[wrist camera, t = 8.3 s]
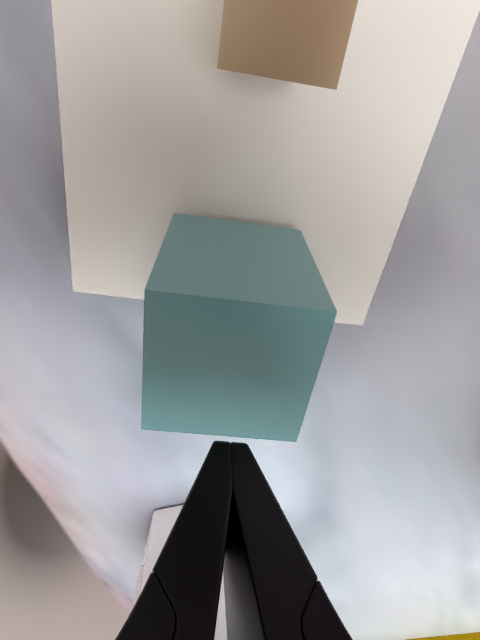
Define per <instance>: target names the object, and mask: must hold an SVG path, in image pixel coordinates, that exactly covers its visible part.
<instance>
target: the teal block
mask: <svg viewBox="0 0 480 640" xmlns="http://www.w3.org/2000/svg"><path fill="white" fill-rule="evenodd" d="M336 314H337V310H336V308H335V306H334V304H333V301H332V299H331V297H330V295H329V292H328V290H327V288H326V286H325V284H324V281H323V279H322V277H321V275H320V272H319V270H318V268H317V266H316V263H315V261H314V259H313V257H312V255H311V252H310V250H309V248H308V246H307V243H306V241H305V239H304V237H303V234H302V232H301V230H297V229H290V228H282V227H275V226H267V225H260V224H252V223H245V222H237V221H230V220H223V219H215V218H208V217H200V216H193V215H185V214H178V213H174V214H173V216H172V219H171V222H170V224H169V227H168V229H167V232H166V235H165V237H164V240H163V242H162V245H161V248H160V250H159V253H158V256H157V258H156V261H155V263H154V266H153V269H152V271H151V274H150V276H149V279H148V282H147V284H146V287H145V290H144V333H143V378H142V423H141V429H144V430H157V431H169V432H181V433H193V434H205V435H218V436H230V437H242V438H254V439H267V440H279V441H291V442H296V440H297V437H298V434H299V431H300V428H301V425H302V421H303V418H304V415H305V412H306V409H307V406H308V402H309V399H310V396H311V393H312V390H313V387H314V384H315V380H316V377H317V374H318V371H319V368H320V365H321V361H322V358H323V355H324V352H325V349H326V346H327V342H328V339H329V336H330V333H331V330H332V327H333V323H334V320H335V317H336Z"/></svg>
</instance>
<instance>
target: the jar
mask: <svg viewBox="0 0 480 640" xmlns="http://www.w3.org/2000/svg"><path fill="white" fill-rule="evenodd" d="M182 507H183V505H179V506H174V507H169V508H164V509H159V510H155V511H154V512H153V515H152V520H151V524H150V528H149V532H148V537H147V541H146V545H145V551H144V556H143V562H142V566H141V567H140V571H139V576H138V582H137V587H136V593H135V598H134V603H133V607H134V605H135V603H136V601H137V600H138V598H139V596H140V594H141V592H142V590H143V588H144V586H145V584H146V581H147V579H148V577H149V575H150V573H151V572H152V570H153V567H154V565H155V563H156V561H157V559H158V557H159V555H160V553H161V551H162V549H163V546H164V544H165V542H166V540H167V538H168V536H169V534H170V532H171V530H172V528H173V526H174V523H175V521H176V519H177V517H178V515H179V513H180V511H181V509H182ZM132 609H133V608H132ZM214 640H227V627H226V611H225V595H224V578H223V575H222V583H221V590H220V598H219V606H218V614H217V621H216V629H215V637H214Z"/></svg>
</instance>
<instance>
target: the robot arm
mask: <svg viewBox="0 0 480 640" xmlns="http://www.w3.org/2000/svg"><path fill="white" fill-rule="evenodd" d="M222 575H223V578H224V595H225V611H226V627H227V640H352V638H351V636H350V635H349V633H348V631H347V630H346V628H345V627H344V625H343V623H342V621H341V620H340V618H339V616H338V614H337V612H336V611H335V609H334V607H333V605H332V603H331V602H330V600H329V598H328V596H327V594H326V592H325V590H324V588H323V587H322V585H321V583H320V581H317V575H316V574H315V572H314V570H313V568H312V566H311V564H310V562H309V560H308V558H307V556H306V554H305V553H304V551H303V549H302V547H301V545H300V543H299V541H298V539H297V537H296V535H295V534H294V532H293V530H292V528H291V526H290V524H289V522H288V520H287V518H286V516H285V515H284V513H283V511H282V509H281V507H280V505H279V503H278V501H277V499H276V497H275V496H274V494H273V492H272V490H271V488H270V486H269V484H268V482H267V480H266V478H265V476H264V475H263V473H262V471H261V469H260V467H259V465H258V463H257V461H256V459H255V457H254V456H253V454H252V452H251V450H250V448H249V446H248V445H247V444H246V443H237V442H232V443H230V442H225V441H214V442H213V444H212V446H211V448H210V450H209V452H208V455H207V457H206V459H205V461H204V463H203V465H202V467H201V469H200V471H199V473H198V475H197V478H196V480H195V482H194V484H193V486H192V488H191V490H190V492H189V494H188V496H187V498H186V501H185V503H184V505H183V507H182V509H181V511H180V513H179V515H178V517H177V519H176V521H175V523H174V526H173V528H172V530H171V532H170V534H169V536H168V538H167V540H166V542H165V544H164V546H163V549H162V551H161V553H160V555H159V557H158V559H157V561H156V563H155V565H154V567H153V570H152V572H151V573H150V575H149V577H148V579H147V581H146V584H145V586H144V588H143V590H142V592H141V594H140V596H139V598H138V600H137V601H136V603H135V605H134V607H133V609H132V611H131V613H130V615H129V617H128V619H127V620H126V622H125V624H124V626H123V627H122V629H121V631H120V632H119V634H118V636H117V638H116V639H115V640H214V637H215V629H216V621H217V614H218V606H219V598H220V590H221V583H222ZM316 581H317V582H316Z"/></svg>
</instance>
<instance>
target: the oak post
mask: <svg viewBox="0 0 480 640" xmlns="http://www.w3.org/2000/svg"><path fill="white" fill-rule="evenodd" d="M357 3H358V0H224V7H223V17H222V27H221V36H220V46H219V55H218V65H217V69H222V70H228V71H234V72H239V73H245V74H250V75H256V76H261V77H267V78H273V79H278V80H284V81H289V82H295V83H300V84H306V85H312V86H317V87H323V88H328V89H334V90H337V86H338V82H339V78H340V74H341V69H342V65H343V61H344V57H345V53H346V49H347V45H348V41H349V36H350V32H351V28H352V24H353V20H354V16H355V12H356V8H357Z"/></svg>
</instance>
